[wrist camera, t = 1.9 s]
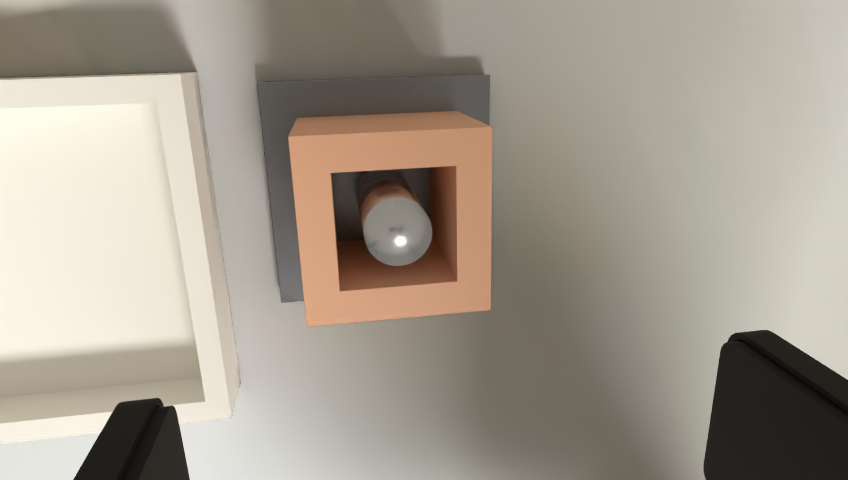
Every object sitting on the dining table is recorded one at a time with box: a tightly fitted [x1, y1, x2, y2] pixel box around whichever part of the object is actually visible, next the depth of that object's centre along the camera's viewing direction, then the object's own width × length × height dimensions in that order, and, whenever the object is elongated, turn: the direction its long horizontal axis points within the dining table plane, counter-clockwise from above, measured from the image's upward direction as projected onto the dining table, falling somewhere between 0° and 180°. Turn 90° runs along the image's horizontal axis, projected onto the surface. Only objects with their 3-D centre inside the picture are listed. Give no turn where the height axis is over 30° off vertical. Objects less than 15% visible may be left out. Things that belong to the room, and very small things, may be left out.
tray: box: [0, 72, 241, 444], centre depth 25 cm, size 15×15×3 cm
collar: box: [288, 111, 492, 327], centre depth 24 cm, size 7×7×6 cm
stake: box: [257, 74, 490, 303], centre depth 24 cm, size 10×10×7 cm
